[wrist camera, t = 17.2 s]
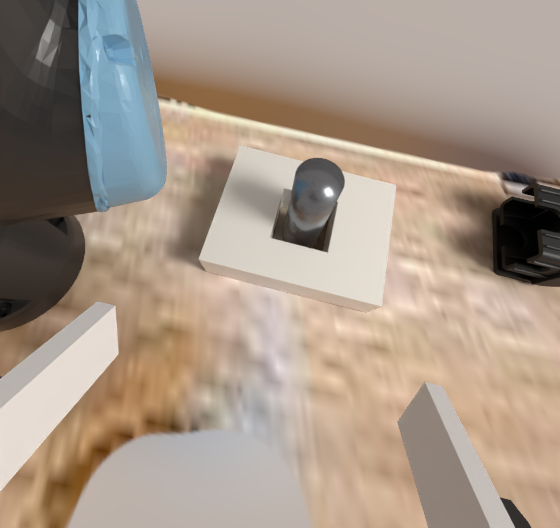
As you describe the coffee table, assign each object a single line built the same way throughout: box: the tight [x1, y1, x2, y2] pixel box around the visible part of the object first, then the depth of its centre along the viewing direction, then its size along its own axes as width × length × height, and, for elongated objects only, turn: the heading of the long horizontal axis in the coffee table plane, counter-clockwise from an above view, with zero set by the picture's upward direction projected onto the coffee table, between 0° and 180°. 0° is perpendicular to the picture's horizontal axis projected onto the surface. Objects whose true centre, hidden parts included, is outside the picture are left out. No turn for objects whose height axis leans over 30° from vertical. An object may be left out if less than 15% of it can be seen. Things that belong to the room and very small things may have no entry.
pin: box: [283, 158, 345, 248], centre depth 27 cm, size 4×4×11 cm
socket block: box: [199, 145, 396, 313], centre depth 30 cm, size 18×14×4 cm
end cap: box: [492, 183, 560, 287], centre depth 31 cm, size 10×7×7 cm
